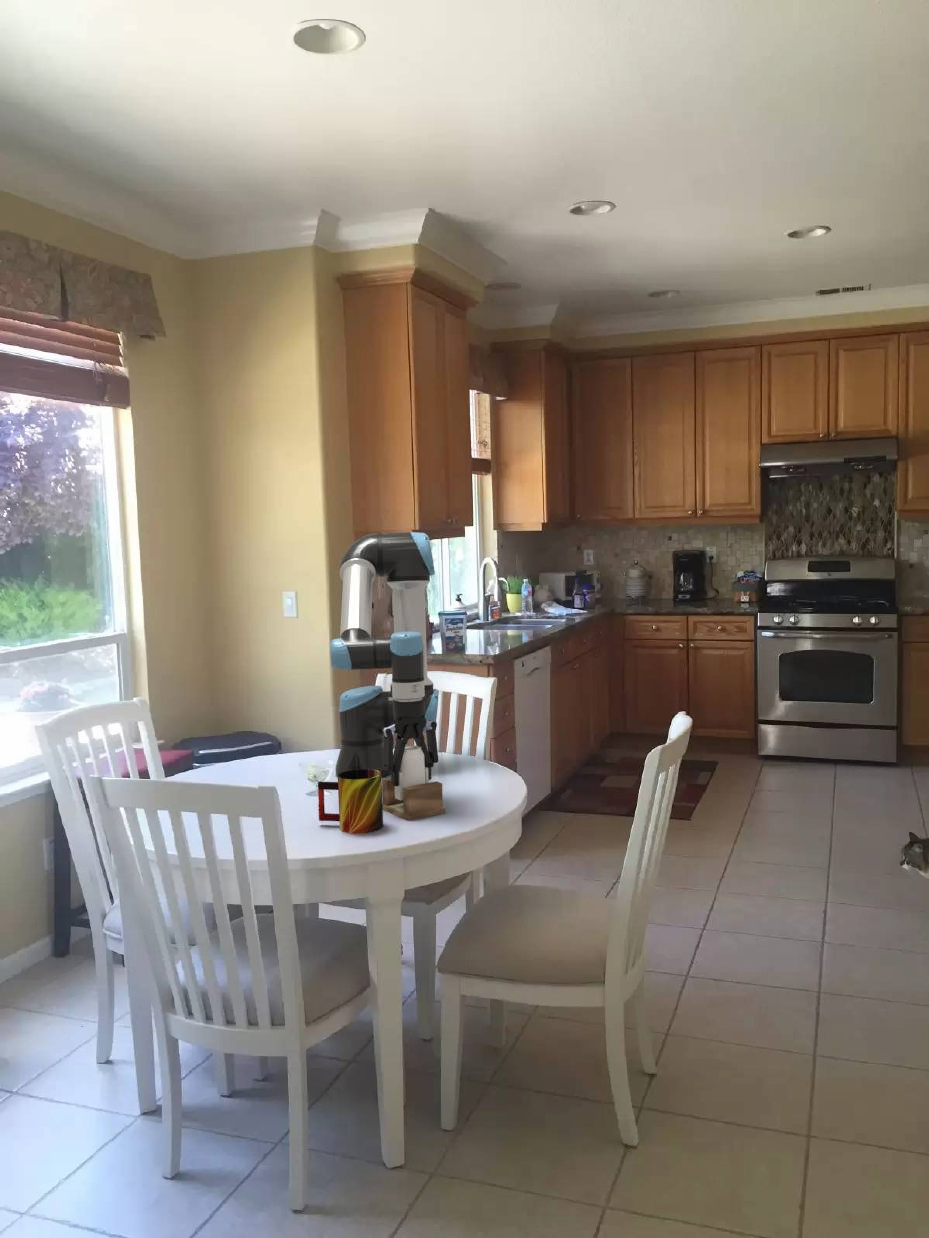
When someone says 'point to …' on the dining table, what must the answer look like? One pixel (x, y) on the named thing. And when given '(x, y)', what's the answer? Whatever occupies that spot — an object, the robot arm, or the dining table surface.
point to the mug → (355, 801)
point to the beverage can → (413, 766)
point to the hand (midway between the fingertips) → (412, 796)
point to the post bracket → (413, 800)
